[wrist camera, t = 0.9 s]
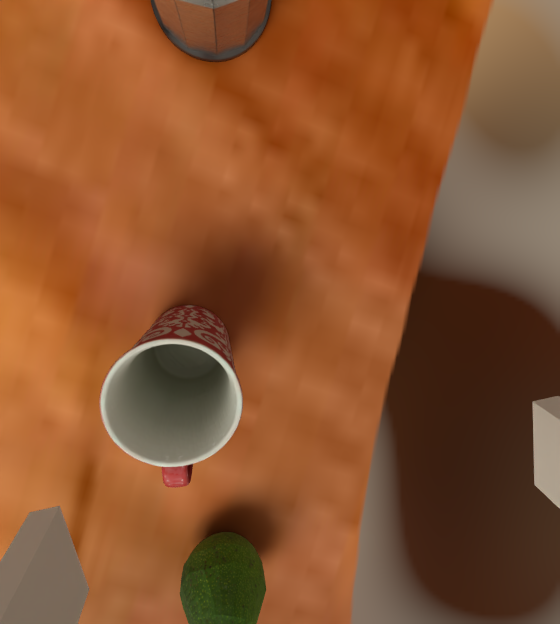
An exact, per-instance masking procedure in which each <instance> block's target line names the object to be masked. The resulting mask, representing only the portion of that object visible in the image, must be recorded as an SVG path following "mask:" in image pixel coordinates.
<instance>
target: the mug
mask: <svg viewBox="0 0 560 624" xmlns="http://www.w3.org/2000/svg"><path fill="white" fill-rule="evenodd" d="M99 405H100V413H101V418H102V421H103V424H104V426H105V429H106V431H107V433H108V434H109V436H110V437H111V439H112V440H113V441H114V443H115V444H116V445H117V446H118V447H119V448H120V449H122V450H123V451H124V452H125V453H127V454H128V455H130V456H131V457H133V458H135V459H137V460H139V461H141V462H144V463H147V464H151V465H155V466H162V476H163V481H164V484H165V486H167V487H183V486H187V485H188V484H189V483H190V480H191V475H192V467H193V464H194V463H197V462H199V461H202V460H204V459H206V458H208V457H210V456H211V455H213V454H215V453H216V452H217V451H219V450H220V449H221V448H222V447H223V446H224V445H225V444H226V443H227V442H228V441H229V439H230V438H231V437H232V435H233V434H234V432H235V430H236V428H237V426H238V424H239V422H240V418H241V414H242V409H243V396H242V389H241V385H240V382H239V379H238V377H237V375H236V372H235V367H234V362H233V356H232V351H231V346H230V340H229V336H228V333H227V330H226V328H225V326H224V324H223V323H222V321H221V320H220V319H219V318H218V317H217V316H216V315H215V314H214V313H212V312H211V311H209V310H207V309H205V308H203V307H199V306H194V305H183V306H177V307H174V308H172V309H170V310H168V311H166V312H165V313H164V314H162V315H161V316H160V317H159V318H158V319H157V320H156V321H155V323H154V324H153V325H152V326H151V328H150V329H149V330H148V331H147V332H146V333H145V334H144V335H143V336H142V338H141V339H140V340H139V341H138V342H137V343H136V344H135V345H134V347H133V348H132V349H130V350H129V351H127V352H126V353H124V354H123V355H122V356H121V357H120V358H119V359H118V360H117V361H116V362H115V363H114V364H113V365H112V367H111V368H110V370H109V371H108V373H107V375H106V377H105V379H104V381H103V384H102V388H101V392H100V403H99Z"/></svg>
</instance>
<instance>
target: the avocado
mask: <svg viewBox="0 0 560 624" xmlns="http://www.w3.org/2000/svg"><path fill="white" fill-rule="evenodd" d="M265 592H266V585H265V577H264V571H263V565H262V562H261V559H260V557H259V555H258V553H257V551H256V549H255V548H254V546H253V545H252V544H251V543H250V542H249V541H248V540H247V539H245V538H244V537H242V536H240V535H238V534H236V533H234V532H220V533H216V534H213V535H211V536H209V537H207V538H206V539H204V540H203V541H201V542H200V543H199V544H198V545H197V546H196V547H195V549H194V550H193V552H192V553H191V554H190V556H189V558H188V559H187V561H186V563H185V564H184V567H183V572H182V578H181V589H180V597H181V601H182V605H183V608H184V611H185V614H186V617H187V620H188V623H189V624H256V623H257V620H258V616H259V613H260V610H261V606H262V603H263V599H264V596H265Z"/></svg>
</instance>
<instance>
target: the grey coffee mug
mask: <svg viewBox="0 0 560 624" xmlns="http://www.w3.org/2000/svg"><path fill="white" fill-rule="evenodd" d="M151 4H152V7H153V11H154V14H155V16H156V18H157V21H158V23H159V25H160V27H161V29H162V30H163V32H164V33H165V35H166V36H167V37H168V39H169V40H170V41H171V42H172V43H173V44H174V45H175V46H176V47H177V48H179V49H180V50H181V51H182V52H184V53H186V54H187V55H189V56H191V57H193V58H196V59H199V60H202V61H208V62H223V61H228V60H231V59H234V58H236V57H239V56H240V55H242V54H244V53H245V52H247V51H248V50H249V49H250V48H251V47H252V46H253V45H254V44H255V43H256V42H257V41H258V39H259V38H260V36H261V35H262V33H263V31H264V29H265V26H266V23H267V21H268V17H269V12H270V8H271V0H151Z"/></svg>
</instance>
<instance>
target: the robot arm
mask: <svg viewBox="0 0 560 624" xmlns="http://www.w3.org/2000/svg"><path fill="white" fill-rule="evenodd" d="M533 435H534V479H535V481H534V482H535V486H536V487H537V488H539V489H540V490H541V491H542V492H543V493H544V494H545V495H546V496H547V497H548V498H549V499H550V500H551V501H552V502H553V503H554V504H556V505H557V506H558V507H559V508H560V397H559V396H556V397H551V398H547V399H543V400H538V401H534V402H533ZM88 591H89V587H88V584H87V582H86V579H85V576H84V573H83V570H82V567H81V565H80V562H79V559H78V556H77V553H76V551H75V548H74V545H73V542H72V539H71V536H70V534H69V531H68V528H67V525H66V522H65V520H64V517H63V514H62V511H61V508H60V506H57V507H52V508H48V509H43V510H39V511H34V512H30V513H29V515H28V516H27V518H26V520H25V521H24V523H23V525H22V526H21V528H20V530H19V531H18V533H17V535H16V536H15V538H14V540H13V541H12V543H11V545H10V546H9V548H8V550H7V551H6V553H5V555H4V556H3V558H2V560H1V561H0V624H78V621H79V618H80V615H81V612H82V609H83V606H84V603H85V600H86V597H87V594H88Z"/></svg>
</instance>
